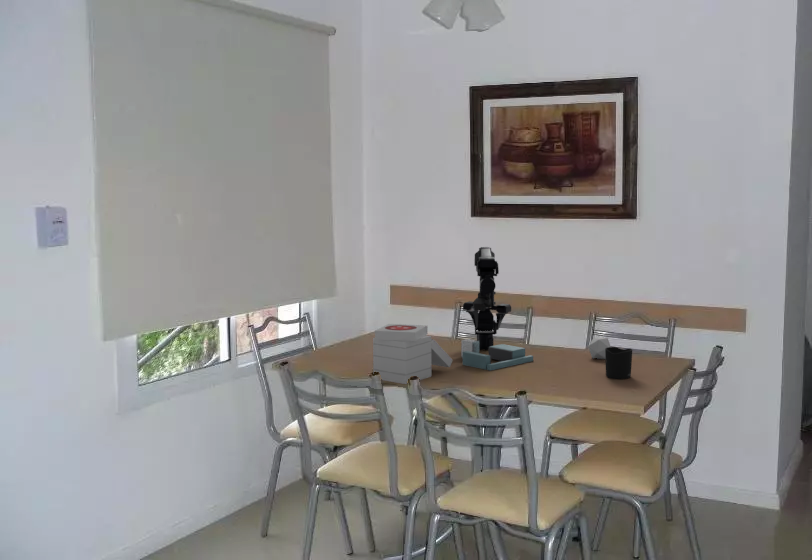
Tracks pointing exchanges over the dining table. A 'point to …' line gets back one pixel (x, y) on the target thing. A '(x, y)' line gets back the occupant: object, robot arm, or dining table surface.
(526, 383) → the dining table surface
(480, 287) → the robot arm
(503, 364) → the vise body
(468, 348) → the steel block
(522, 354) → the block
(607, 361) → the pen holder
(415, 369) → the pizza boxes
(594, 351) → the die
